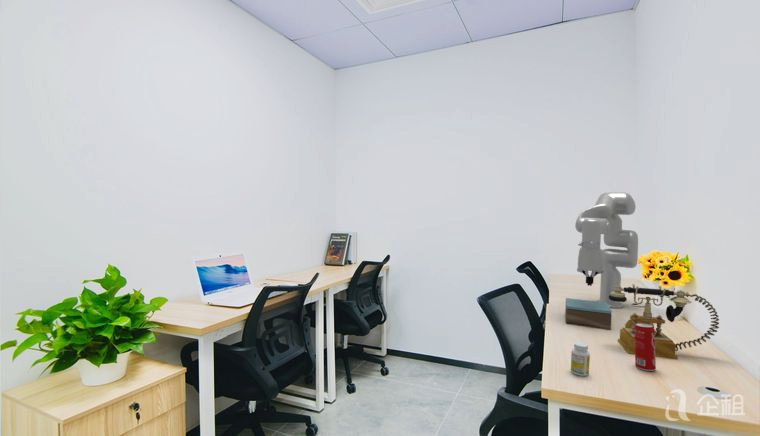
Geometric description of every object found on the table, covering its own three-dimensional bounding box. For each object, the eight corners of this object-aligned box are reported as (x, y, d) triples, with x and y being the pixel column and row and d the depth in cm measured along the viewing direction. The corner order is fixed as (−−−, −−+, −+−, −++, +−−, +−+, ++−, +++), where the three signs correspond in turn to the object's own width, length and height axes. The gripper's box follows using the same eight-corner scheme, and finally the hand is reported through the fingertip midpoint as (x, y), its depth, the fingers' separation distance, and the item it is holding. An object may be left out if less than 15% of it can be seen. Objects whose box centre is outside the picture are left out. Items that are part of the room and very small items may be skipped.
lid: (565, 300, 190) (565, 297, 190) (607, 305, 182) (607, 302, 182) (566, 308, 176) (566, 305, 175) (611, 313, 168) (611, 311, 168)
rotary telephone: (699, 347, 150) (703, 284, 149) (725, 365, 133) (729, 295, 132) (599, 336, 160) (601, 277, 159) (611, 351, 143) (614, 286, 142)
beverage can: (655, 373, 125) (657, 329, 124) (631, 368, 129) (634, 325, 128) (655, 367, 130) (657, 324, 129) (633, 362, 134) (635, 320, 133)
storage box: (565, 314, 190) (565, 301, 190) (606, 320, 183) (607, 305, 182) (566, 323, 176) (566, 309, 176) (610, 330, 168) (611, 314, 168)
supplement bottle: (577, 376, 122) (578, 347, 121) (567, 369, 127) (568, 341, 127) (592, 376, 122) (593, 347, 122) (582, 368, 128) (583, 341, 127)
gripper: (573, 245, 173) (571, 285, 174) (610, 247, 167) (609, 288, 168) (572, 243, 180) (571, 281, 181) (608, 245, 173) (607, 285, 174)
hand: (589, 285), depth 174 cm, fingers closed
